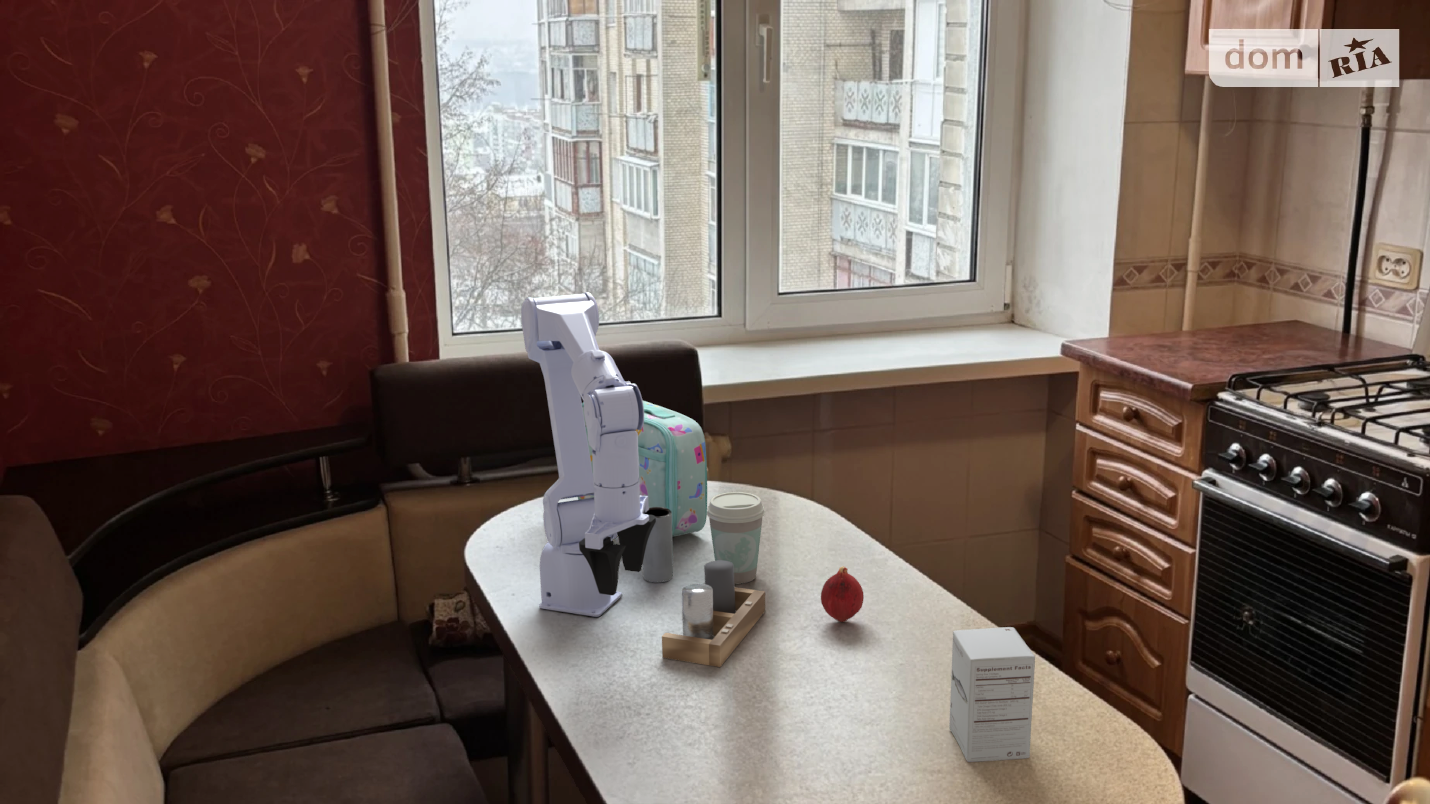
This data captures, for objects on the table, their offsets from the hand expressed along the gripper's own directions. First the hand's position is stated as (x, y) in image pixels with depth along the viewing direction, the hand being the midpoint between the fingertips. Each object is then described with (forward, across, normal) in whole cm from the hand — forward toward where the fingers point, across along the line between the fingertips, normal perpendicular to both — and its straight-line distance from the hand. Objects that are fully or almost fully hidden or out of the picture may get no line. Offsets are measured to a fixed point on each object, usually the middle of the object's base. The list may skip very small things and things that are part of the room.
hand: (620, 581), depth 162 cm
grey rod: (+10, +6, -8) cm, 14 cm away
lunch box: (+11, +44, +18) cm, 49 cm away
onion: (+11, +19, -24) cm, 32 cm away
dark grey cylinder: (+10, +14, -8) cm, 19 cm away
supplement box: (+11, -6, -48) cm, 50 cm away
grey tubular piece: (+11, +25, +6) cm, 28 cm away
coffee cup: (+11, +29, -5) cm, 31 cm away
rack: (+10, +10, -9) cm, 17 cm away
